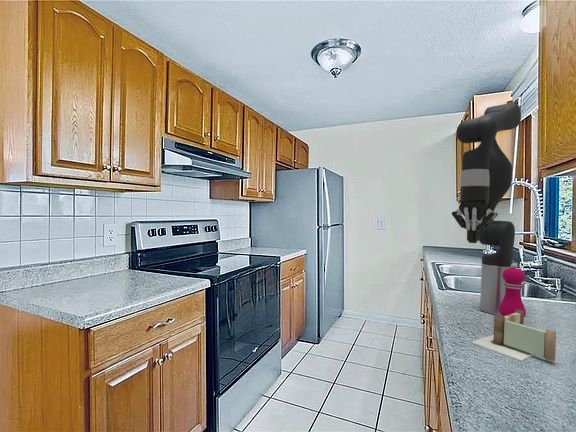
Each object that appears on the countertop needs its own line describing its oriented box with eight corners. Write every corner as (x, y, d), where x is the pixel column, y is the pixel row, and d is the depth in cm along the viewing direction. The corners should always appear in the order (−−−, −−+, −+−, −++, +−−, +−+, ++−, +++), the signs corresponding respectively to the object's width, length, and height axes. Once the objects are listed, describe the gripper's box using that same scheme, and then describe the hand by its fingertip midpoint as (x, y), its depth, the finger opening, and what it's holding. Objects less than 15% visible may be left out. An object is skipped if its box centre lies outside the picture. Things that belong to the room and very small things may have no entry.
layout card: (501, 332, 97) (501, 331, 97) (549, 348, 87) (549, 346, 87) (471, 343, 88) (471, 341, 88) (521, 361, 78) (521, 359, 78)
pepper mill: (517, 330, 99) (520, 265, 99) (493, 322, 106) (495, 261, 105) (530, 327, 103) (532, 264, 102) (506, 319, 109) (508, 260, 109)
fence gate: (502, 344, 86) (504, 319, 86) (506, 342, 87) (507, 317, 87) (552, 361, 77) (554, 333, 77) (556, 359, 78) (557, 331, 78)
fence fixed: (515, 334, 96) (516, 308, 96) (524, 337, 94) (526, 310, 94) (491, 343, 89) (492, 315, 88) (500, 346, 86) (502, 317, 86)
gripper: (505, 185, 93) (502, 244, 94) (460, 187, 105) (458, 240, 105) (491, 183, 89) (489, 245, 90) (446, 185, 101) (444, 241, 101)
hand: (472, 242), depth 97 cm, fingers closed
